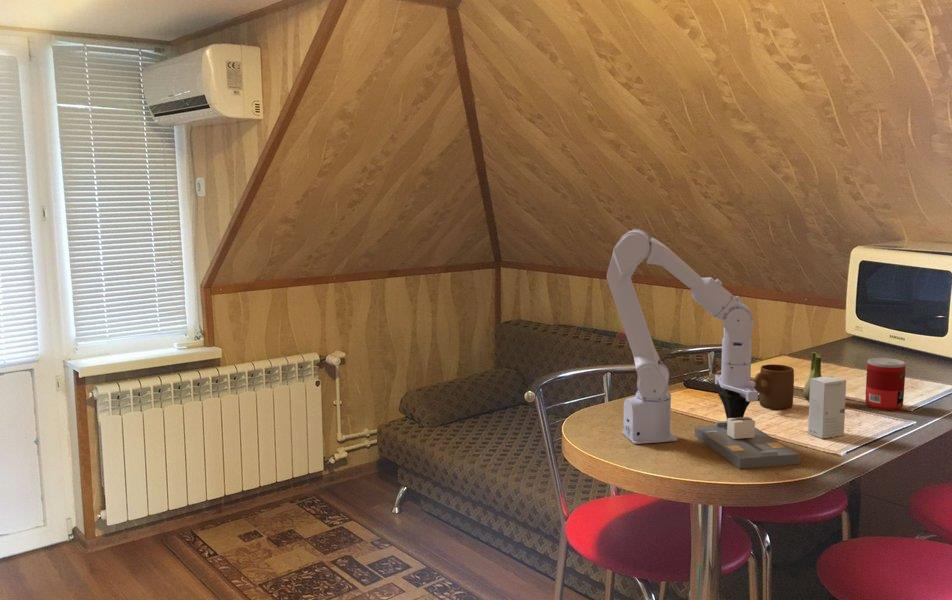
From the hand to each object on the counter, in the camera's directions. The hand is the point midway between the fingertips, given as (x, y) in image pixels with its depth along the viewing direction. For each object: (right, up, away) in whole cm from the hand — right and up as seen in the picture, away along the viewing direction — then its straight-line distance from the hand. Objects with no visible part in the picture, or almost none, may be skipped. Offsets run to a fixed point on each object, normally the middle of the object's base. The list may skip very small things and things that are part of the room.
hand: (734, 426), depth 162 cm
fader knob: (0, -1, -3) cm, 3 cm away
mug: (+17, 0, +25) cm, 30 cm away
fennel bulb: (+29, +1, +29) cm, 41 cm away
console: (+1, -4, -4) cm, 5 cm away
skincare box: (+21, -3, +4) cm, 21 cm away
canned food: (+43, +1, +24) cm, 49 cm away
